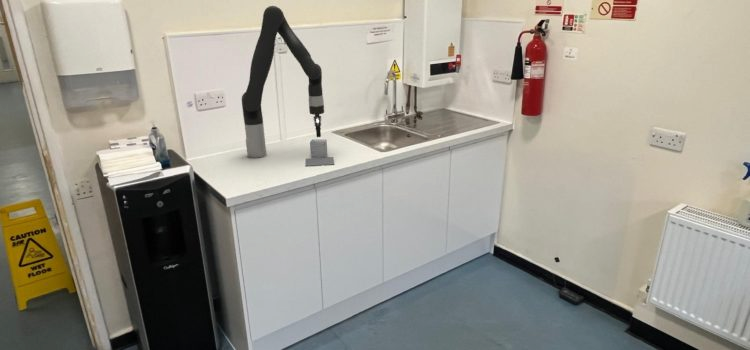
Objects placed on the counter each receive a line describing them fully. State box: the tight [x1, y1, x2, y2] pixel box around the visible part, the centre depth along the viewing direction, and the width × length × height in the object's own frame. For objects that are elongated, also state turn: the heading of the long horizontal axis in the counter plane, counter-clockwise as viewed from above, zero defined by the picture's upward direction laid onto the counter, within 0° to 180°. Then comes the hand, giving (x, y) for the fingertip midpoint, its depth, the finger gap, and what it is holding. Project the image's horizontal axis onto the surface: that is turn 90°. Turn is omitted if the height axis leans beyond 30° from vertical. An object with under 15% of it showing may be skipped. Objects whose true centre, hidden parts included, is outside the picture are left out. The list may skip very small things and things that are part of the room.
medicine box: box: [309, 138, 328, 158], centre depth 236 cm, size 8×4×9 cm, turn 86°
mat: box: [304, 156, 335, 167], centre depth 229 cm, size 14×11×1 cm
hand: (318, 136), depth 242 cm, fingers closed
